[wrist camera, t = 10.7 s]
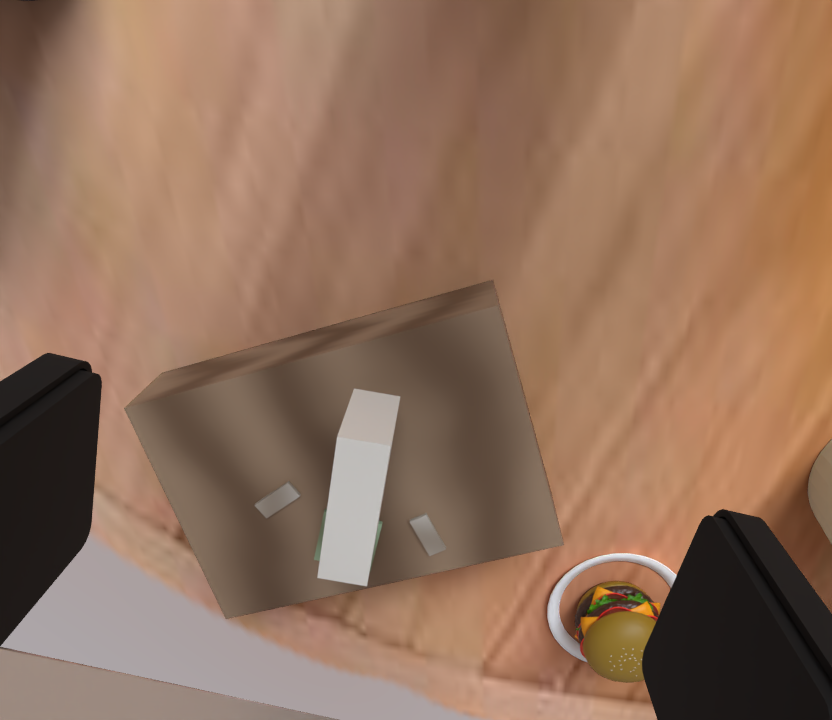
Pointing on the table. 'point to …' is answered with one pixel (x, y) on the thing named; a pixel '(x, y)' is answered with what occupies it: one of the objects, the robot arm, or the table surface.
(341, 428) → the peg
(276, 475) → the brown slab
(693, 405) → the table surface
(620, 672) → the hamburger
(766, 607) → the robot arm
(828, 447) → the reusable coffee cup
